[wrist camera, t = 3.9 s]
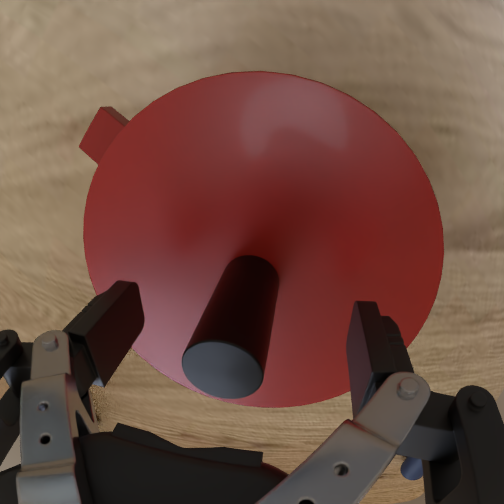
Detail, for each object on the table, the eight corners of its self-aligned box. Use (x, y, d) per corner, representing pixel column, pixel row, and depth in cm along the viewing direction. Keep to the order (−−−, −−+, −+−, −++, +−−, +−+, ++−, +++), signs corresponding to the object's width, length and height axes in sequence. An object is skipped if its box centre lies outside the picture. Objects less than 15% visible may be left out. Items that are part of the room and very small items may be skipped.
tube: (427, 415, 28) (432, 440, 25) (454, 413, 27) (460, 437, 24) (399, 459, 32) (401, 481, 29) (423, 457, 31) (426, 479, 28)
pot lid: (230, 1, 10) (171, -77, 4) (491, 263, 13) (561, 343, 7) (57, 268, 17) (-17, 328, 11) (268, 426, 19) (254, 511, 13)
